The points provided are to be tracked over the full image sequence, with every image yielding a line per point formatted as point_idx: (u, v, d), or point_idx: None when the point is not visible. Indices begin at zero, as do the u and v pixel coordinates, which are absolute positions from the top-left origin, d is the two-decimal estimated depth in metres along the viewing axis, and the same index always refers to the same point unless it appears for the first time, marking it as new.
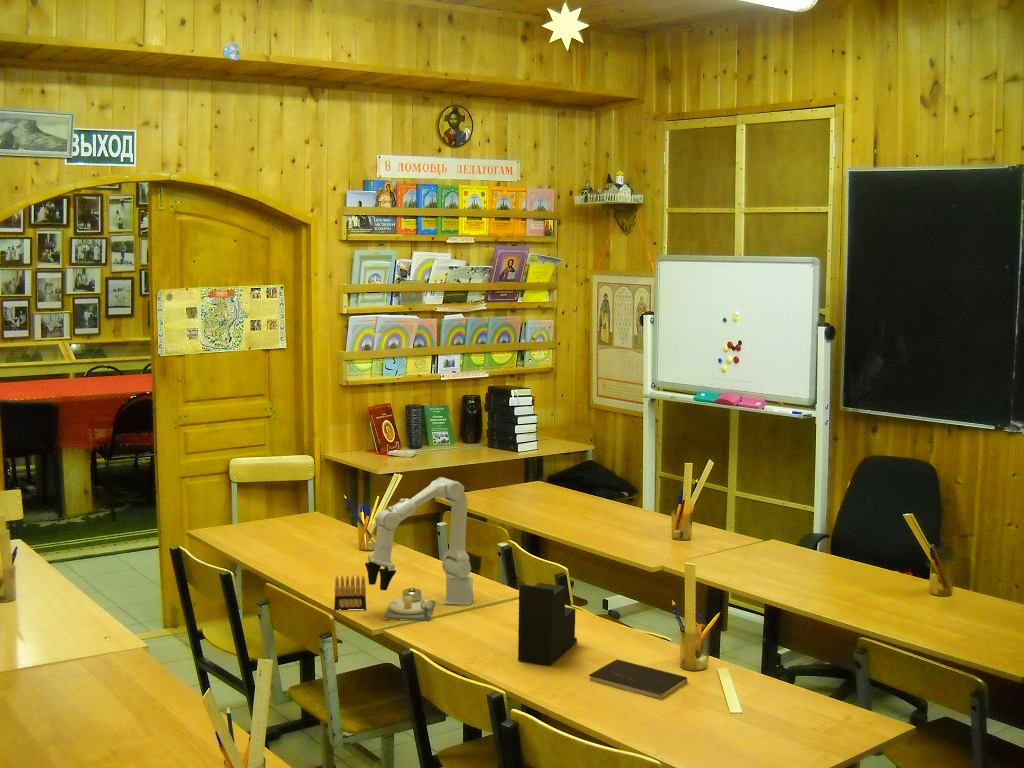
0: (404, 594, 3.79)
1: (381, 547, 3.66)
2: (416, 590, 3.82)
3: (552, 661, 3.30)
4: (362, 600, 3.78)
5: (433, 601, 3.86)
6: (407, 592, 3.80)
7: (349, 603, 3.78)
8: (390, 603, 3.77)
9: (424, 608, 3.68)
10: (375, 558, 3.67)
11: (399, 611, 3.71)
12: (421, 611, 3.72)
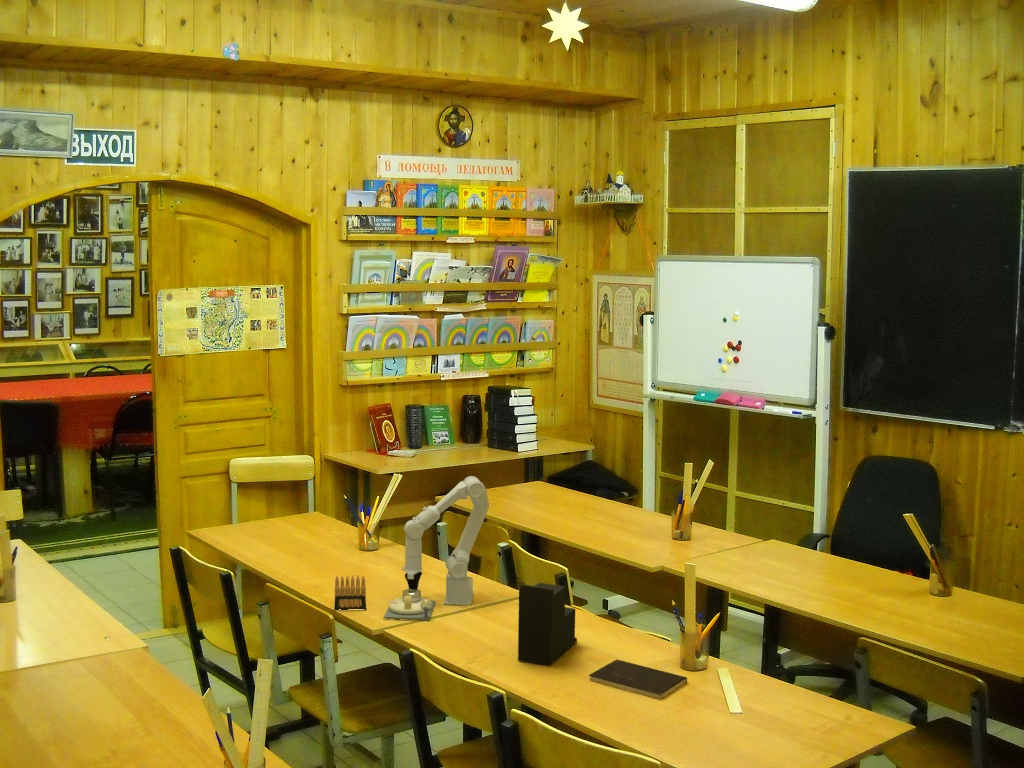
0: (404, 594, 3.79)
1: (406, 556, 3.82)
2: (416, 590, 3.82)
3: (552, 661, 3.30)
4: (362, 600, 3.78)
5: (433, 601, 3.86)
6: (407, 592, 3.79)
7: (349, 603, 3.78)
8: (390, 603, 3.77)
9: (424, 608, 3.68)
10: (405, 566, 3.84)
11: (399, 611, 3.71)
12: (421, 611, 3.72)
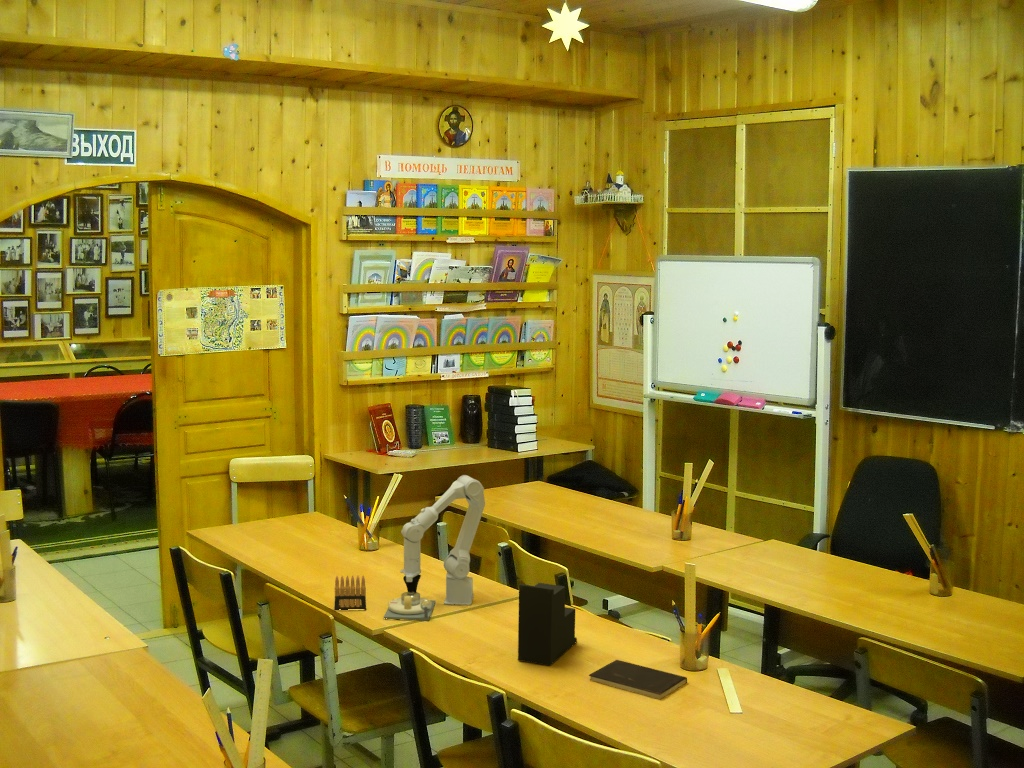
0: (403, 597, 3.75)
1: (405, 558, 3.79)
2: (415, 593, 3.78)
3: (552, 661, 3.30)
4: (362, 600, 3.78)
5: (433, 601, 3.86)
6: (406, 595, 3.76)
7: (349, 603, 3.78)
8: (390, 603, 3.77)
9: (424, 608, 3.68)
10: (403, 569, 3.81)
11: (399, 611, 3.71)
12: (421, 611, 3.72)
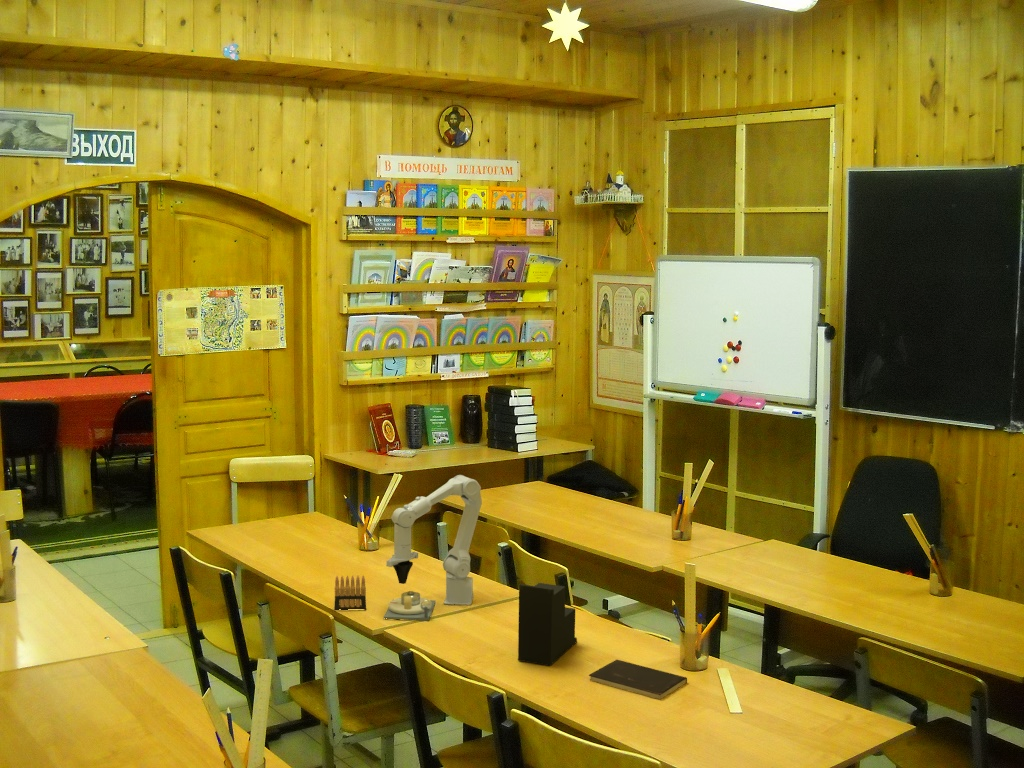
0: (403, 597, 3.75)
1: (394, 543, 3.76)
2: (415, 593, 3.78)
3: (552, 661, 3.30)
4: (362, 600, 3.78)
5: (433, 601, 3.86)
6: (406, 595, 3.76)
7: (349, 603, 3.78)
8: (390, 603, 3.77)
9: (424, 608, 3.68)
10: None
11: (399, 611, 3.71)
12: (421, 611, 3.72)
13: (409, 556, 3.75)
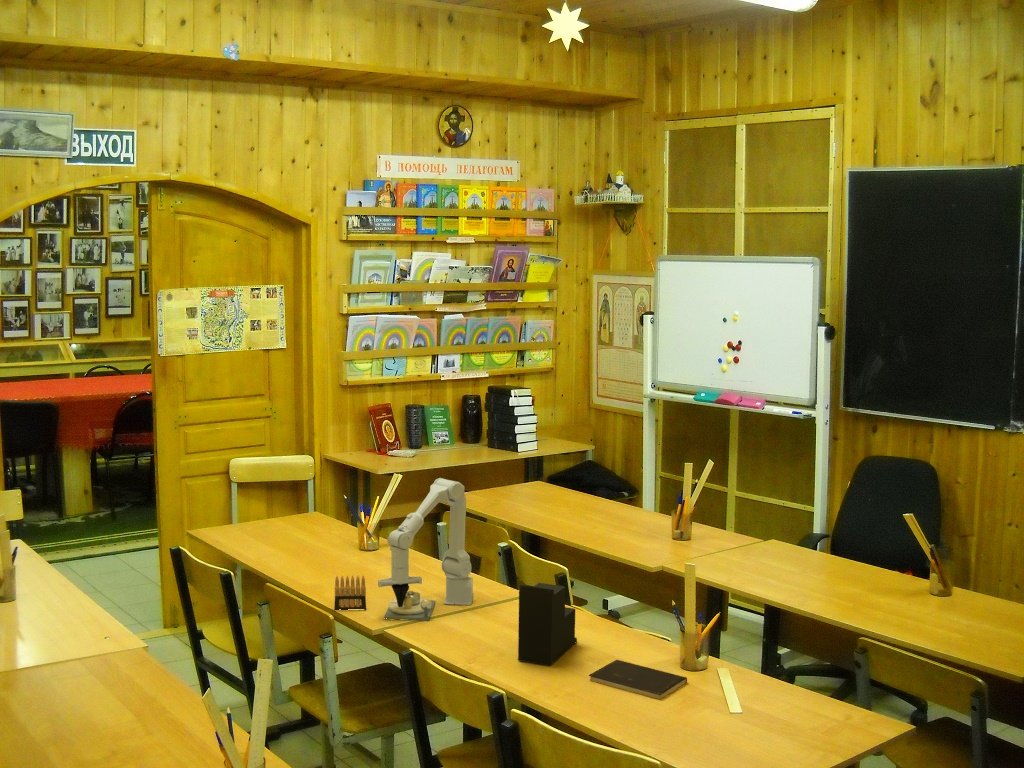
0: None
1: None
2: (415, 593, 3.78)
3: (552, 661, 3.29)
4: (362, 600, 3.78)
5: (433, 601, 3.86)
6: (406, 595, 3.76)
7: (349, 603, 3.78)
8: (390, 603, 3.77)
9: (424, 608, 3.68)
10: None
11: (399, 611, 3.71)
12: (421, 611, 3.72)
13: (402, 580, 3.68)
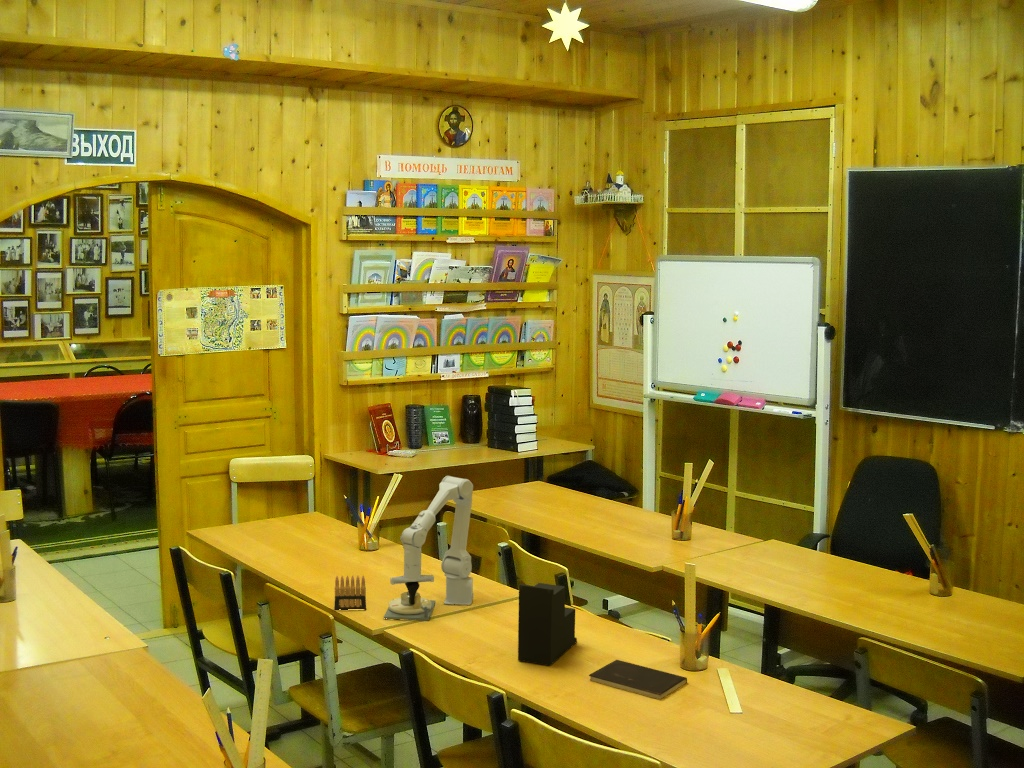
0: (407, 598, 3.75)
1: None
2: None
3: (552, 661, 3.29)
4: (362, 600, 3.78)
5: (433, 601, 3.86)
6: (408, 596, 3.76)
7: (349, 603, 3.78)
8: (393, 606, 3.74)
9: (424, 608, 3.68)
10: None
11: (411, 612, 3.71)
12: None
13: (415, 577, 3.69)
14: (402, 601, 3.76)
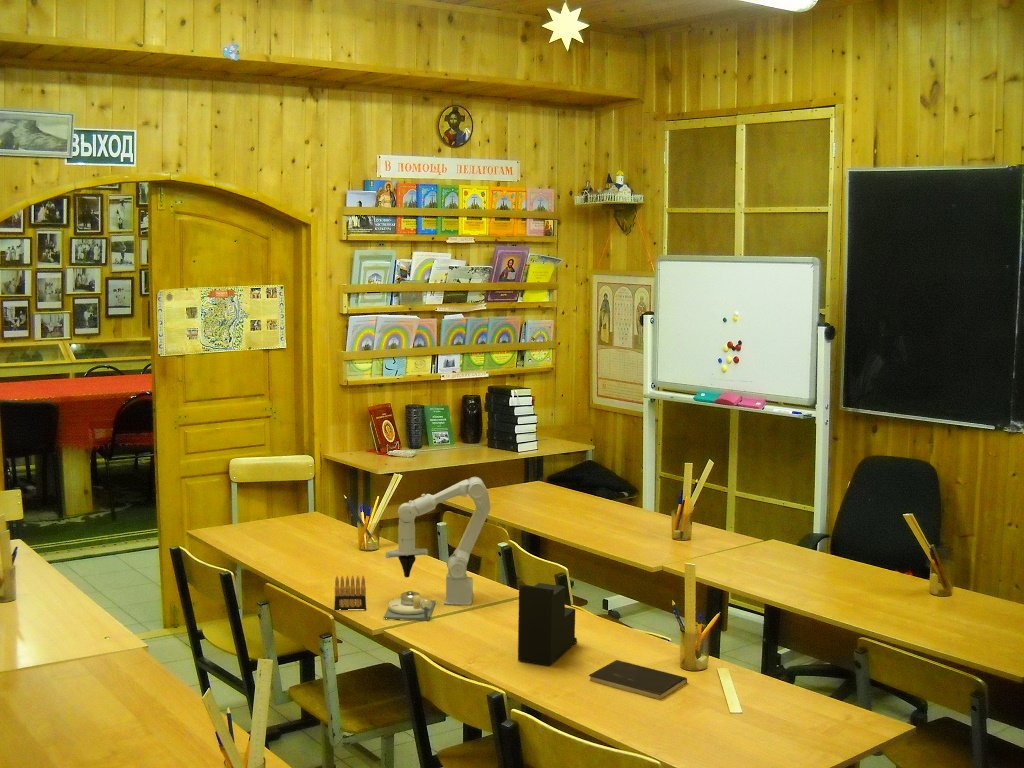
0: (407, 598, 3.75)
1: None
2: None
3: (552, 661, 3.29)
4: (362, 600, 3.78)
5: (433, 601, 3.86)
6: (408, 596, 3.76)
7: (349, 603, 3.78)
8: (393, 606, 3.74)
9: (424, 608, 3.68)
10: None
11: (411, 612, 3.71)
12: None
13: (409, 551, 3.82)
14: (402, 601, 3.76)
